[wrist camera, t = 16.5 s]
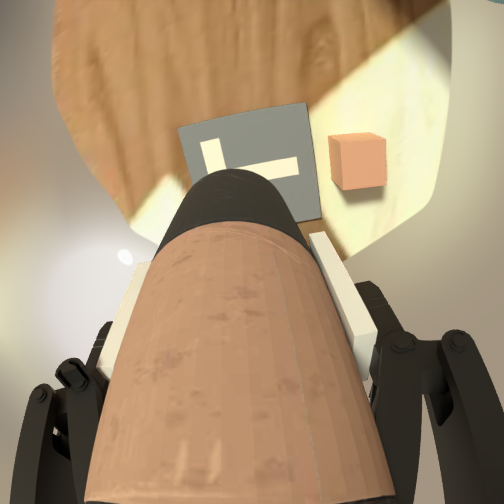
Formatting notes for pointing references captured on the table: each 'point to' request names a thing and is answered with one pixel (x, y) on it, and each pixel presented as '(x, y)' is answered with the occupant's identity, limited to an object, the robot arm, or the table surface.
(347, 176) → the terracotta block
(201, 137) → the letter mat
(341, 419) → the travel mug
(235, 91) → the table surface
